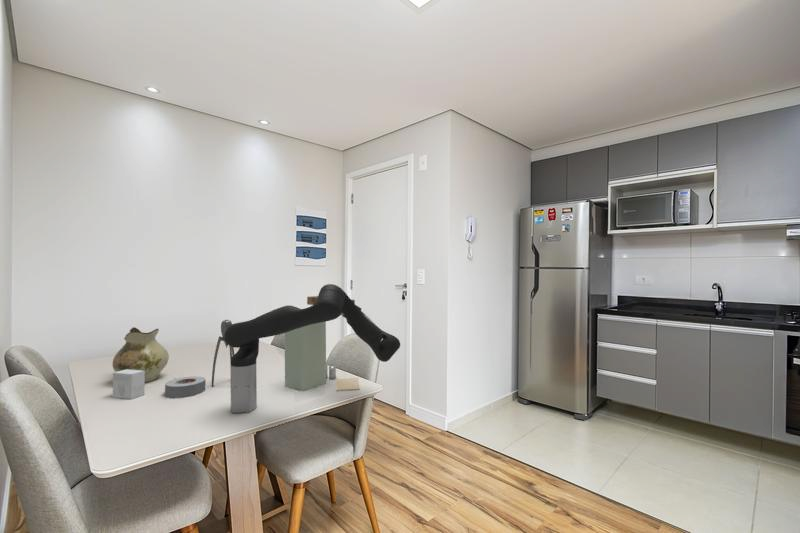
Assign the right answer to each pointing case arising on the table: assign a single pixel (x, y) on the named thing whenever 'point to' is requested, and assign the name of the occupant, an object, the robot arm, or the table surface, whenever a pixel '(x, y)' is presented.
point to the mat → (347, 384)
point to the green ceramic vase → (141, 354)
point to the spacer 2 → (332, 372)
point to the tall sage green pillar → (305, 357)
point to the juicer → (224, 326)
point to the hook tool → (313, 299)
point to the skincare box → (128, 384)
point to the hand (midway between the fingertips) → (335, 299)
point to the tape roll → (184, 387)
